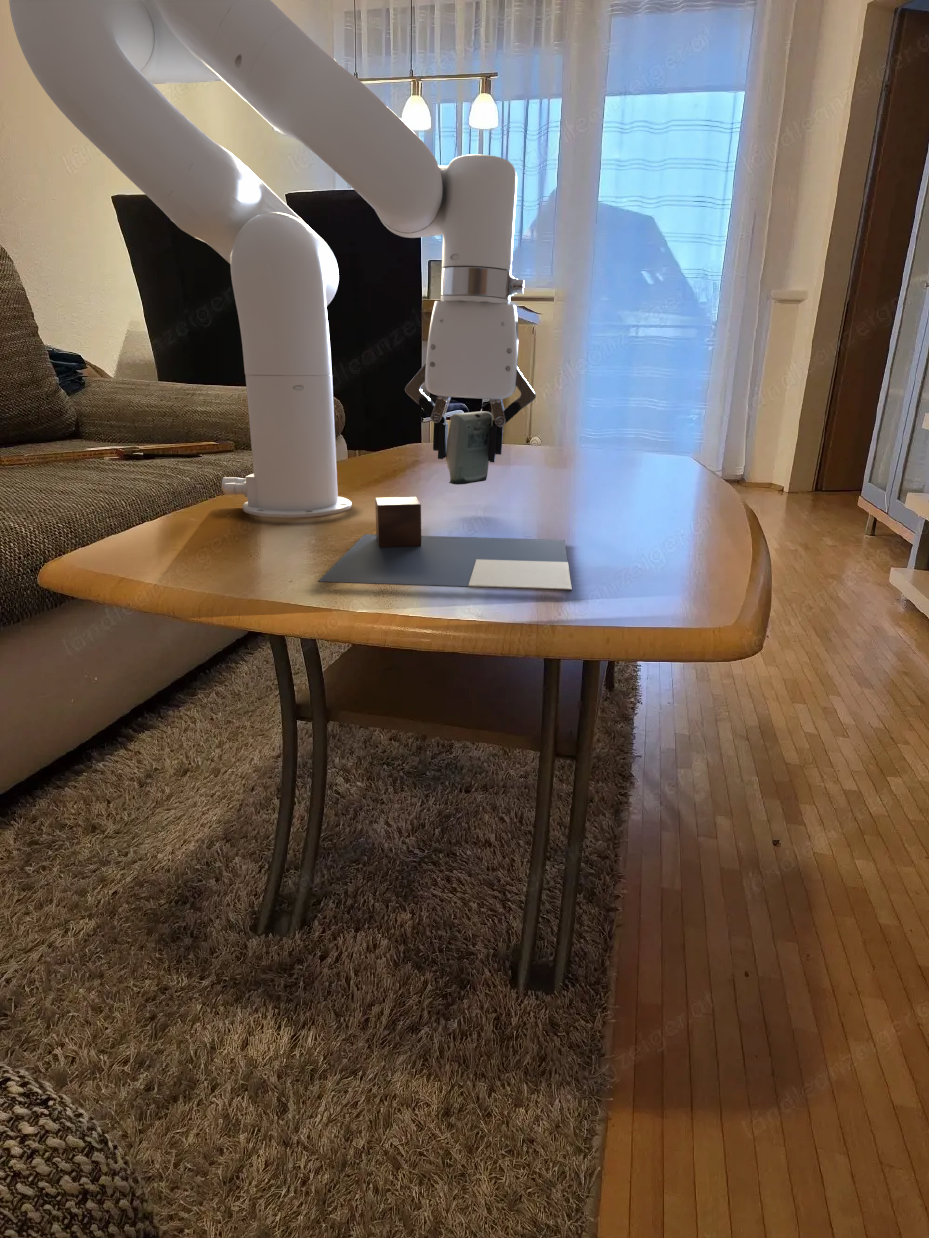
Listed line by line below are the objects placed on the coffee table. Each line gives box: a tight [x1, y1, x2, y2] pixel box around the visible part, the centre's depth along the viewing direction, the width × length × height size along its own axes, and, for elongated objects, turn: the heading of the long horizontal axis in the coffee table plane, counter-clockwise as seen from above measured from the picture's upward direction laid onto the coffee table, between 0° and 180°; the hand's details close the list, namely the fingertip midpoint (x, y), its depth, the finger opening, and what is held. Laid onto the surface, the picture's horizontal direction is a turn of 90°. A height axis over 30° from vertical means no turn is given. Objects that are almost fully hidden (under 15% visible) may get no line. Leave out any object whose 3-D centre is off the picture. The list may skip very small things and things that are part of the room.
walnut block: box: [374, 496, 422, 547], centre depth 72 cm, size 4×4×4 cm
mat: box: [317, 533, 573, 591], centre depth 67 cm, size 20×17×1 cm
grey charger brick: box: [445, 410, 493, 486], centre depth 87 cm, size 6×5×8 cm
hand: (467, 457), depth 88 cm, fingers closed on grey charger brick, 5 cm apart
